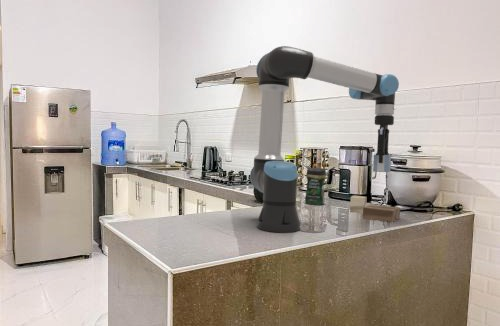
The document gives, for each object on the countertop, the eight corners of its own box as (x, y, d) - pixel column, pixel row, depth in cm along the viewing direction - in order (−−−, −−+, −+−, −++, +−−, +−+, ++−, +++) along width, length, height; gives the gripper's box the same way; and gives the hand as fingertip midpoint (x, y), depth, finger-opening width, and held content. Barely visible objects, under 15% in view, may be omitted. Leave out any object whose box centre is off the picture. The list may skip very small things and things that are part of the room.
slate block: (388, 172, 159) (388, 155, 159) (373, 171, 162) (373, 154, 162) (390, 171, 165) (390, 155, 164) (375, 170, 167) (376, 154, 167)
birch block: (363, 213, 175) (364, 198, 175) (350, 212, 178) (350, 196, 178) (366, 211, 181) (366, 196, 180) (352, 210, 183) (353, 195, 183)
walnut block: (392, 223, 156) (392, 211, 155) (362, 219, 162) (363, 207, 162) (399, 219, 166) (400, 207, 165) (371, 215, 172) (371, 204, 172)
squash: (260, 194, 189) (277, 170, 194) (243, 191, 201) (259, 169, 206) (277, 212, 194) (293, 189, 200) (260, 208, 207) (275, 187, 212)
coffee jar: (303, 203, 198) (304, 167, 197) (308, 202, 205) (309, 167, 204) (321, 205, 193) (323, 168, 193) (326, 204, 200) (327, 168, 199)
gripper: (390, 113, 152) (388, 172, 153) (396, 117, 169) (394, 170, 170) (370, 113, 155) (368, 171, 157) (378, 117, 172) (376, 169, 173)
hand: (381, 170), depth 163 cm, fingers closed on slate block, 6 cm apart
